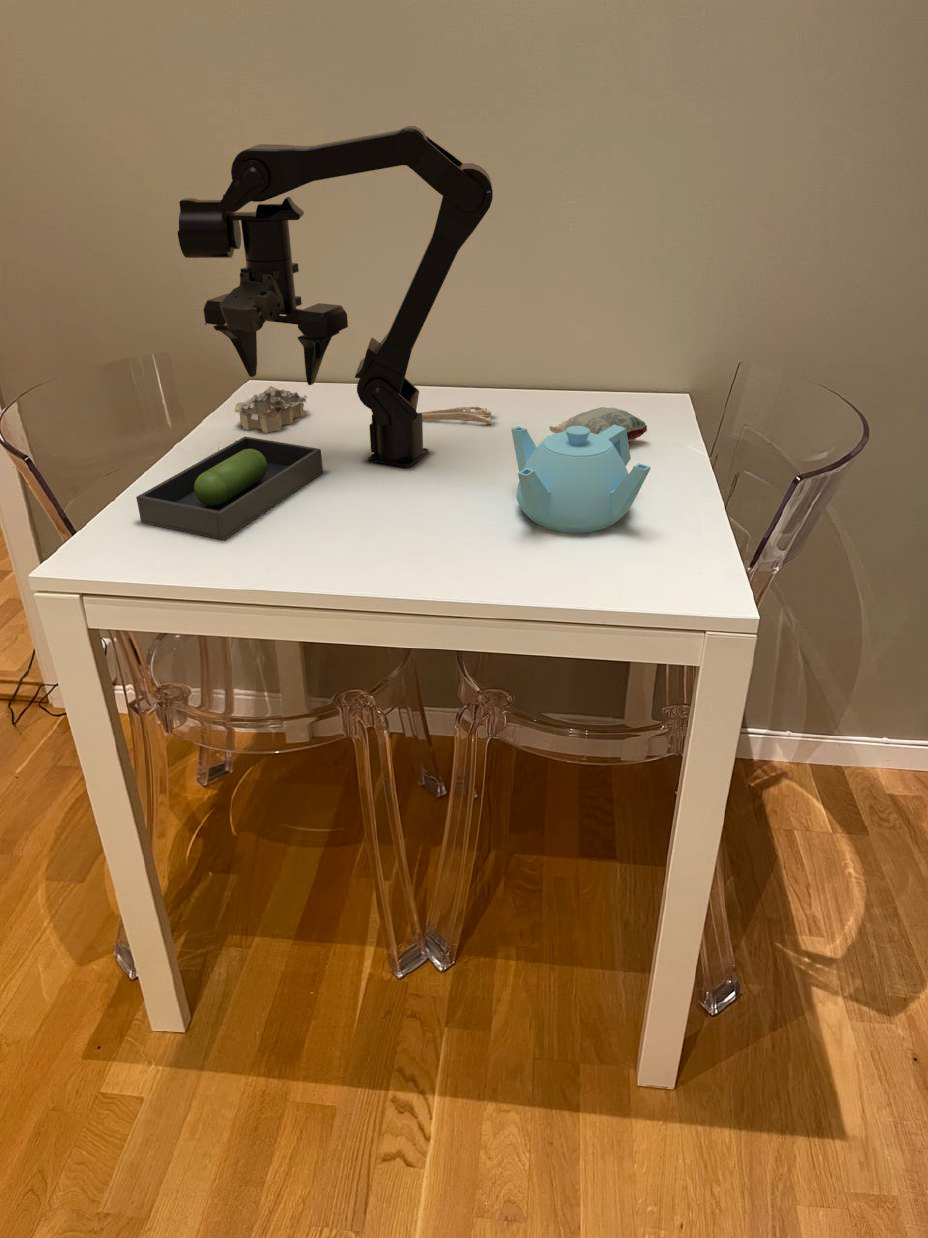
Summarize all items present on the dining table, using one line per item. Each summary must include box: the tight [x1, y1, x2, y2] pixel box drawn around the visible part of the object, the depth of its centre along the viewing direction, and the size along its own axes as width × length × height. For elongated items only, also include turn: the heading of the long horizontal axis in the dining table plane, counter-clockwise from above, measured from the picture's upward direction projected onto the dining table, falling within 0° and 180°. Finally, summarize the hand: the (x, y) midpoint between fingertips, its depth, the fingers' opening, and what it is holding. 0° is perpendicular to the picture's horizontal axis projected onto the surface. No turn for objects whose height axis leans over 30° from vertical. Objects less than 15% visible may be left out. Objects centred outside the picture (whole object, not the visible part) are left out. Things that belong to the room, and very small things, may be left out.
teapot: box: [511, 424, 651, 534], centre depth 113 cm, size 15×15×11 cm
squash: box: [194, 449, 267, 507], centre depth 120 cm, size 4×12×4 cm, turn 156°
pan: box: [135, 436, 324, 541], centre depth 120 cm, size 12×22×3 cm, turn 156°
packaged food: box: [549, 406, 648, 443], centre depth 135 cm, size 9×12×5 cm
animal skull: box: [419, 406, 492, 425], centre depth 145 cm, size 17×5×2 cm, turn 87°
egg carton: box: [234, 385, 308, 434], centre depth 144 cm, size 11×8×4 cm
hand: (281, 380), depth 126 cm, fingers open, 9 cm apart
